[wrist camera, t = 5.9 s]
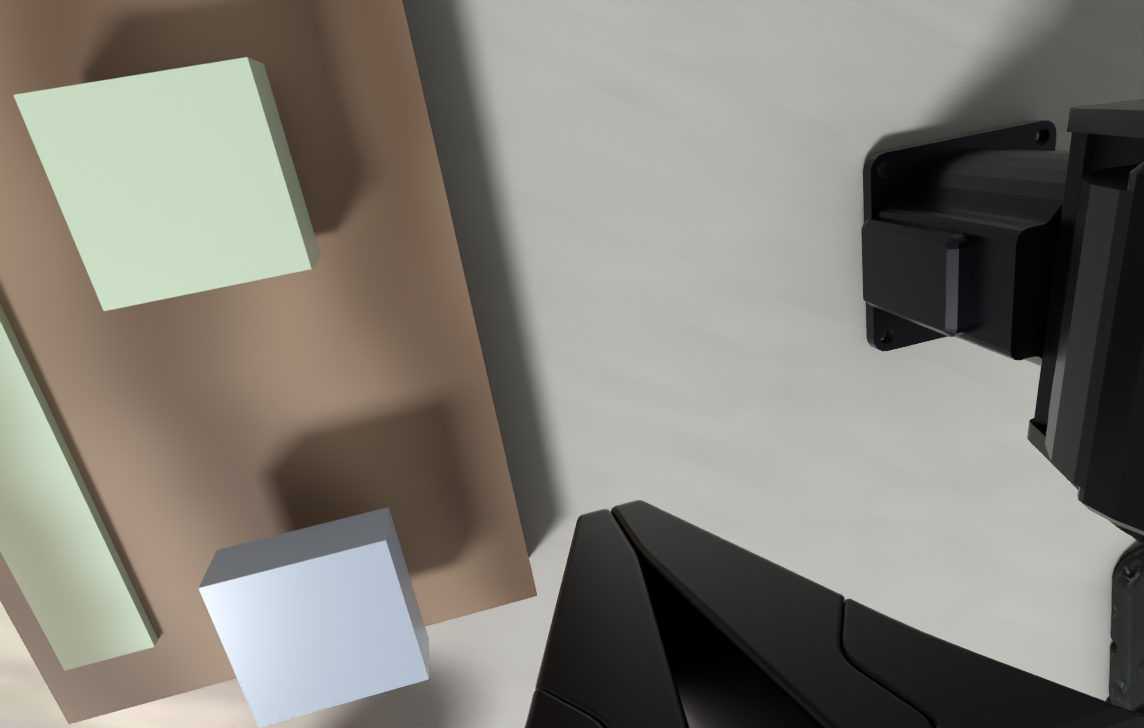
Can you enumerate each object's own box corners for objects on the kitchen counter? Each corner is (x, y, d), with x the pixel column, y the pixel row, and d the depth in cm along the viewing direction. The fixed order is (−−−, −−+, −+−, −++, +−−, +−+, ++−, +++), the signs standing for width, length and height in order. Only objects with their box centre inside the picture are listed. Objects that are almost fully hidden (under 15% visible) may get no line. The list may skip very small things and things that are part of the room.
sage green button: (264, 63, 16) (247, 57, 14) (321, 257, 17) (311, 268, 16) (53, 98, 15) (13, 95, 14) (132, 294, 17) (103, 311, 15)
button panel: (272, -568, 14) (246, -689, 12) (528, 559, 24) (538, 601, 22) (-526, -529, 13) (-720, -664, 10) (98, 674, 22) (64, 732, 20)
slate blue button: (388, 507, 19) (386, 540, 17) (428, 638, 20) (429, 679, 19) (216, 550, 18) (198, 588, 16) (270, 682, 20) (258, 728, 18)
